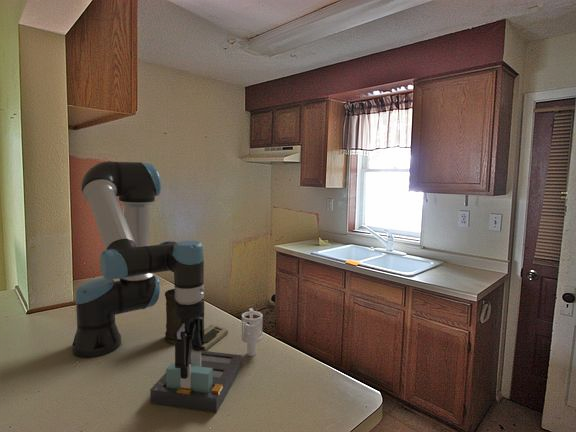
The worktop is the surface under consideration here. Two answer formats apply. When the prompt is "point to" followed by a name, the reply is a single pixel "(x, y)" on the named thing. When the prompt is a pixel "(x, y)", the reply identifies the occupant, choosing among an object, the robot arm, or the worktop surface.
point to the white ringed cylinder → (252, 330)
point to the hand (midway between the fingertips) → (191, 379)
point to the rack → (223, 379)
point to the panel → (199, 378)
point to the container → (171, 317)
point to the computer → (212, 336)
